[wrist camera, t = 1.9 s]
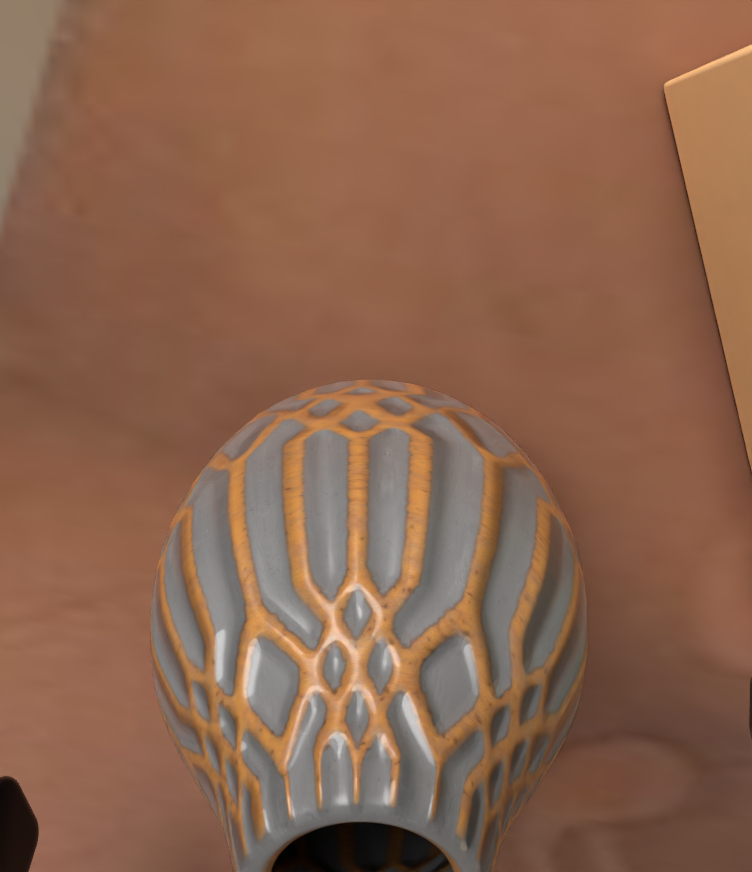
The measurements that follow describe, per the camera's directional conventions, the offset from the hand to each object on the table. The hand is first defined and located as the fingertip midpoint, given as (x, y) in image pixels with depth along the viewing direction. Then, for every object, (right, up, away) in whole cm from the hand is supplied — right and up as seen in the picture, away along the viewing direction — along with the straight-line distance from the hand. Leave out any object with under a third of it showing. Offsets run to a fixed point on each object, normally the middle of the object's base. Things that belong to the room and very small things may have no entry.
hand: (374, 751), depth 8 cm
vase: (0, +3, +7) cm, 7 cm away
